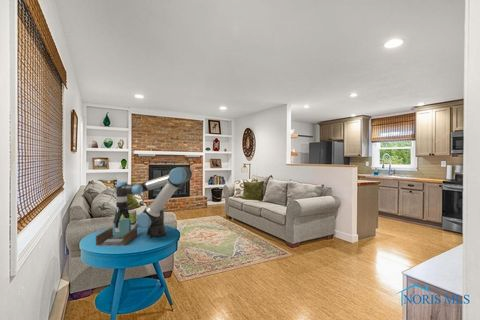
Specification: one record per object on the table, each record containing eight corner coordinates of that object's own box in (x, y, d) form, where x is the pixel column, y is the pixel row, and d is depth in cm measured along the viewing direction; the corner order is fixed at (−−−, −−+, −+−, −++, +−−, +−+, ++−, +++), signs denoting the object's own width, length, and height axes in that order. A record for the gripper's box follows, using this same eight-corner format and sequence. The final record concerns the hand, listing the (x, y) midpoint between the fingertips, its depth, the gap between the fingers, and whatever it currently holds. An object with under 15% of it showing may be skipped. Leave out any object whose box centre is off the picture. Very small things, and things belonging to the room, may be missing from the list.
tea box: (115, 229, 210) (115, 213, 210) (119, 226, 220) (118, 210, 220) (134, 228, 213) (133, 212, 213) (136, 225, 223) (136, 209, 223)
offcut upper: (124, 241, 177) (124, 238, 177) (121, 244, 172) (121, 241, 172) (107, 242, 176) (107, 239, 176) (103, 244, 171) (103, 241, 171)
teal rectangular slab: (130, 238, 188) (130, 219, 188) (129, 239, 185) (128, 220, 185) (115, 238, 188) (115, 219, 188) (113, 239, 185) (113, 220, 185)
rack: (137, 237, 190) (137, 227, 190) (124, 247, 169) (124, 235, 169) (111, 237, 190) (111, 227, 190) (95, 247, 170) (95, 235, 169)
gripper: (124, 198, 199) (124, 224, 199) (108, 204, 174) (108, 234, 174) (133, 198, 199) (133, 224, 199) (118, 204, 174) (118, 234, 174)
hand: (121, 229), depth 186 cm, fingers open, 13 cm apart
